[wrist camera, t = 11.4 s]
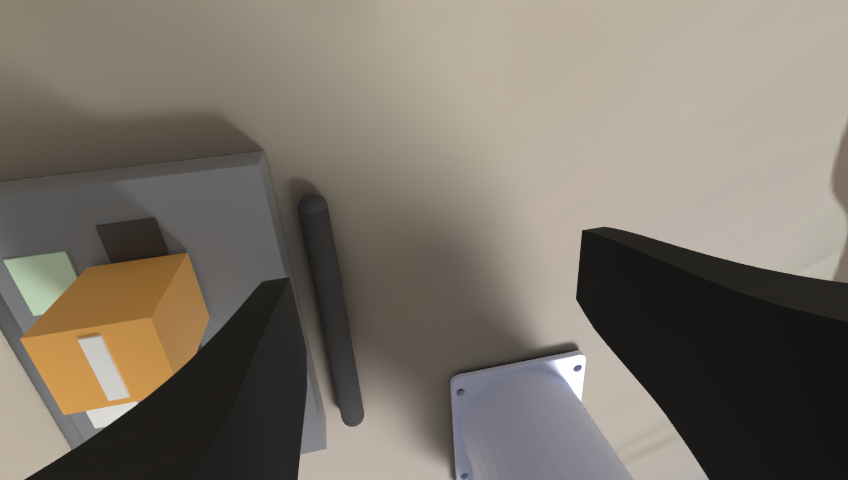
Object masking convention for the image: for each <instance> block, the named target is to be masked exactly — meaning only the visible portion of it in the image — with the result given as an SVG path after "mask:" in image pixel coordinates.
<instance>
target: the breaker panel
mask: <svg viewBox="0 0 848 480" xmlns="http://www.w3.org/2000/svg"><path fill="white" fill-rule="evenodd" d="M181 253H188V255H189V258H190V261H191V263H192V266H193V269H194V272H195V275H196V278H197V281H198V284H199V287H200V290H201V293H202V296H203V299H204V302H205V305H206V308H207V311H208V314H209V317H210V318H209V321H208V323H207V326H206V329H205V331H204V334H203V337H202V339H201V342H200V345H199V347H198V350H197V352H198V351H199V350H200V349H201V348H202V347H203V346H204V345H205V344H206V343H207V342H208V341H209V340H210V339H211V338H212V337H213V336H214V335H215V334H216V333H217V332H218V331H219V330H220V329H221V328H222V327H223V326H224V324H225V323H226V322H227V321H228V320H229V319H230V318H231V317H232V315H233V314H234V313H235V312H236V311H237V310H238V309H239V308H240V306H241V305H242V304H243V303H244V302H245V301H246V299H247V298H248V297H249V296H250V295H251V293H252V292H253V291H254V290H255V289H256V288H257V287H258V285H259V284H260V283H261V282H262V281H268V280H274V279H280V278H287V277H290V281H291V285H292V289H293V293H294V298H295V302H296V306H297V310H298V315H299V319H300V323H301V327H302V332H303V336H304V340H305V345H306V353H307V395H306V404H305V414H304V423H303V433H302V442H301V451H300V454H304V453H309V452H313V451H318V450H323V449H326V416H325V412H324V408H323V403H322V399H321V395H320V390H319V386H318V381H317V377H316V373H315V368H314V364H313V360H312V355H311V351H310V346H309V342H308V338H307V333H306V329H305V325H304V320H303V316H302V312H301V307H300V303H299V298H298V294H297V290H296V285H295V281H294V277H293V272H292V268H291V263H290V259H289V255H288V250H287V246H286V242H285V237H284V233H283V229H282V224H281V220H280V215H279V211H278V207H277V202H276V198H275V194H274V189H273V185H272V181H271V176H270V172H269V167H268V163H267V159H266V154H265V150H264V151H256V152H247V153H239V154H230V155H222V156H213V157H205V158H197V159H188V160H180V161H171V162H163V163H154V164H146V165H137V166H129V167H120V168H112V169H103V170H95V171H86V172H78V173H69V174H61V175H52V176H44V177H35V178H27V179H18V180H10V181H1V182H0V293H1V295H2V297H3V298H4V300H5V302H6V304H7V305H8V307H9V309H10V311H11V312H12V314H13V316H14V318H15V319H16V321H17V323H18V325H19V326H20V328H21V330H22V332H23V333H24V334H25V333H26V332H27V331H28V330H29V329H30V328H31V326H32V325H33V324H34V323H35V322H36V321H37V320H38V319H39V318H40V317H41V316H42V315H43V314H44V313H45V312H46V311H47V310H48V309H49V307H50V306H51V305H52V304H53V303H54V302H55V301H56V300H57V299H58V298H59V297H60V296H61V295H62V294H63V293H64V292H65V291H66V289H67V288H68V287H69V286H70V285H71V284H72V283H73V282H74V281H75V280H76V279H77V278H78V277H79V276H80V275H81V274H82V273H83V272H84V270H85V269H86V268H87V267H92V266H99V265H106V264H113V263H120V262H127V261H133V260H140V259H147V258H154V257H161V256H168V255H174V254H181ZM141 401H142V400H141ZM141 401H136V402H131V403H125V404H120V405H115V406H110V407H104V408H99V409H94V410H88V411H83V412H78V413H73V414H70V416H71V418H72V419H73V421H74V423H75V425H76V426H77V428H78V430H79V432H80V433H81V435H82V437H83V439H84V440H85V441H87V440H88V439H90V438H91V437H93V436H94V435H96V434H97V433H98V432H100V431H101V430H102V429H104V428H105V427H107V426H108V425H109V424H111V423H112V422H113V421H115V420H116V419H118V418H119V417H120V416H122V415H123V414H125V413H126V412H127V411H129V410H130V409H131V408H133V407H134V406H136V405H137V404H138V403H140V402H141Z"/></svg>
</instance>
